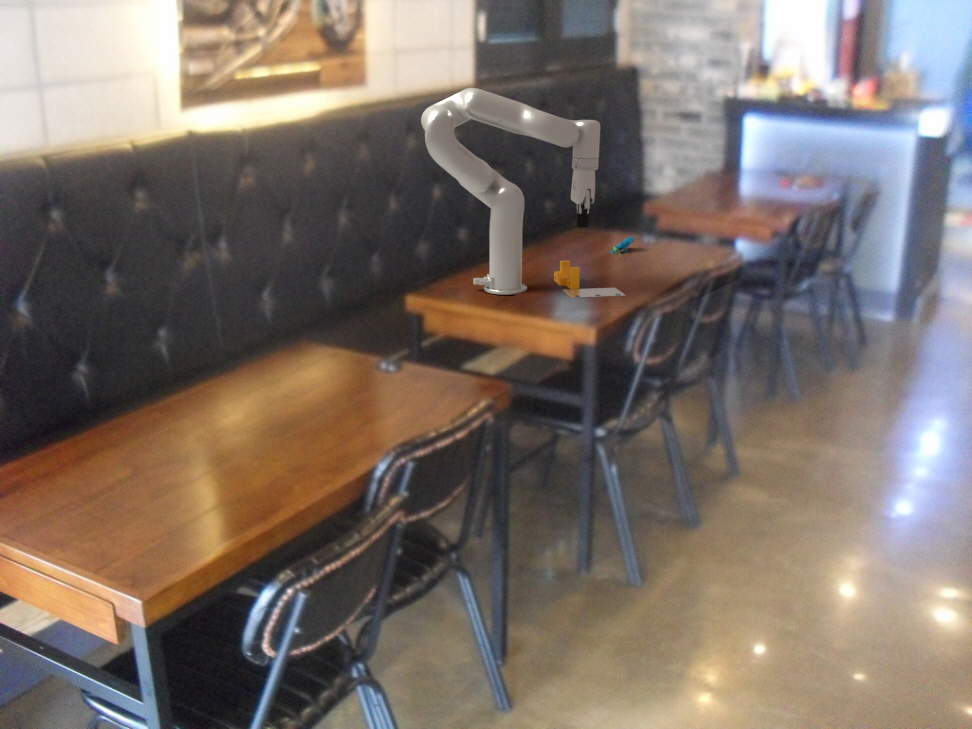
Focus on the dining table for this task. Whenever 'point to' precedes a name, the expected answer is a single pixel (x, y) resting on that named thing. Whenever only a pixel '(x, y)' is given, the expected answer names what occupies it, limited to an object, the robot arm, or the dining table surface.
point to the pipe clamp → (567, 275)
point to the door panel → (593, 292)
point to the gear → (622, 246)
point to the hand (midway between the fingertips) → (581, 226)
